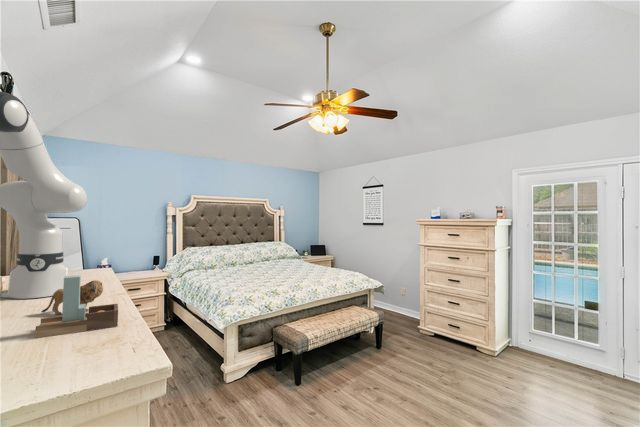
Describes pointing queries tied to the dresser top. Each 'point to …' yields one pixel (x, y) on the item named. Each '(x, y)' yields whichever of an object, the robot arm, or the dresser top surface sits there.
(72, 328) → the lane
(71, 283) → the grey-green l-shaped block
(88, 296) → the lion figurine
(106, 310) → the dark brown open box
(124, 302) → the dresser top surface
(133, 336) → the dresser top surface
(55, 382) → the dresser top surface
